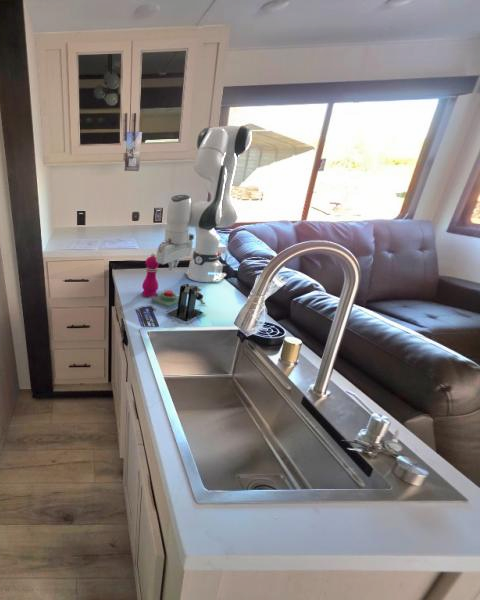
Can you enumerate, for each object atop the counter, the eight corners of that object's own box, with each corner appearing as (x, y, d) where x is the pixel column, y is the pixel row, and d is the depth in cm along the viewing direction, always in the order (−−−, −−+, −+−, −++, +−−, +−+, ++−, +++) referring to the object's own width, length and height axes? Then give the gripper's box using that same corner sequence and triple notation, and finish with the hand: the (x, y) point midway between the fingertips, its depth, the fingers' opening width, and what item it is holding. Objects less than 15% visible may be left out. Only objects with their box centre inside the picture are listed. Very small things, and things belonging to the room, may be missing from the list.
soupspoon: (199, 289, 156) (185, 289, 157) (199, 282, 154) (185, 282, 155) (210, 305, 135) (194, 305, 136) (211, 298, 134) (195, 298, 135)
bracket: (183, 307, 134) (187, 279, 129) (203, 315, 128) (208, 285, 123) (166, 316, 127) (170, 286, 122) (186, 324, 121) (190, 293, 116)
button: (167, 293, 140) (168, 289, 139) (174, 295, 137) (175, 292, 136) (162, 295, 138) (163, 291, 137) (169, 297, 135) (170, 294, 134)
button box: (166, 296, 145) (167, 288, 144) (183, 302, 139) (184, 294, 137) (151, 303, 139) (152, 294, 137) (168, 309, 132) (169, 301, 131)
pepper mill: (157, 298, 143) (161, 256, 135) (141, 297, 145) (144, 255, 136) (157, 292, 150) (161, 251, 142) (141, 291, 151) (145, 251, 143)
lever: (195, 299, 132) (198, 292, 132) (202, 301, 130) (205, 294, 130) (181, 292, 123) (185, 284, 123) (189, 294, 121) (192, 287, 121)
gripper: (166, 243, 119) (163, 277, 125) (196, 234, 131) (192, 266, 137) (153, 240, 124) (151, 273, 130) (183, 232, 136) (179, 263, 141)
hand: (172, 269), depth 133 cm, fingers closed
